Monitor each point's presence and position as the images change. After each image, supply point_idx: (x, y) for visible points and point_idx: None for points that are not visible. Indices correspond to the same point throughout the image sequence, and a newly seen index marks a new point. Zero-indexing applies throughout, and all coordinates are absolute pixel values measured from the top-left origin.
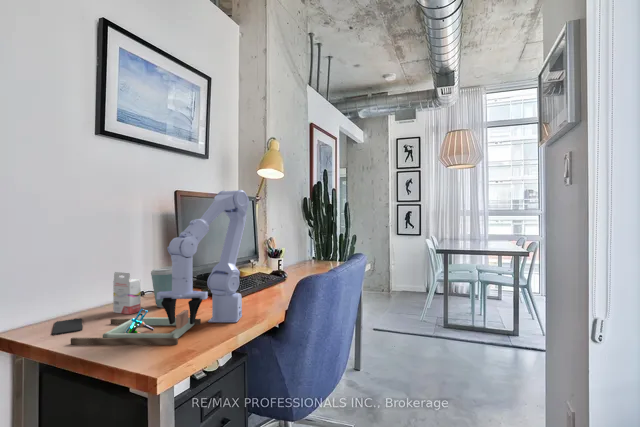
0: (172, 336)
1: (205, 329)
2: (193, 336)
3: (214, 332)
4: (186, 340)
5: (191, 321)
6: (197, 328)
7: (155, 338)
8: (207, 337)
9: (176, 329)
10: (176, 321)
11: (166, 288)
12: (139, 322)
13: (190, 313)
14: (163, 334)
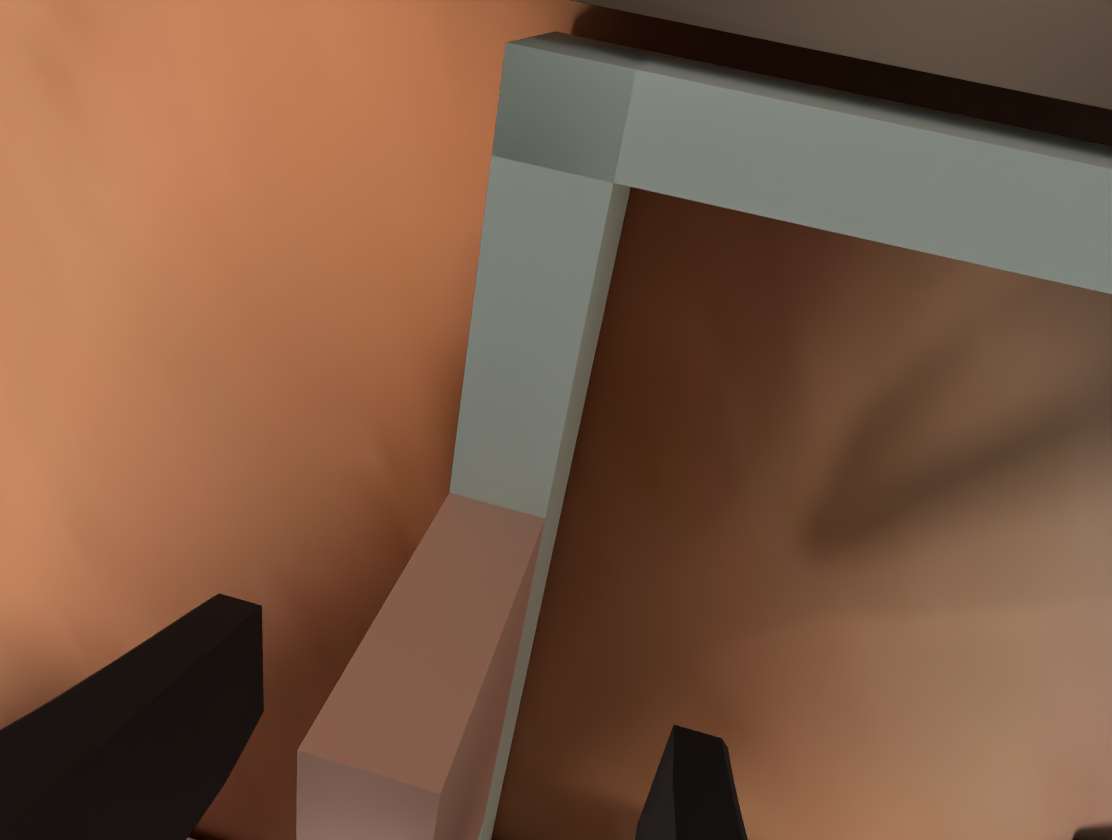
0: (523, 41)
1: None
2: (267, 373)
3: (12, 476)
4: (317, 171)
5: (180, 627)
6: None
7: (1015, 18)
8: (4, 260)
9: (519, 461)
10: (486, 636)
11: None
12: None
13: (29, 793)
14: (786, 110)
